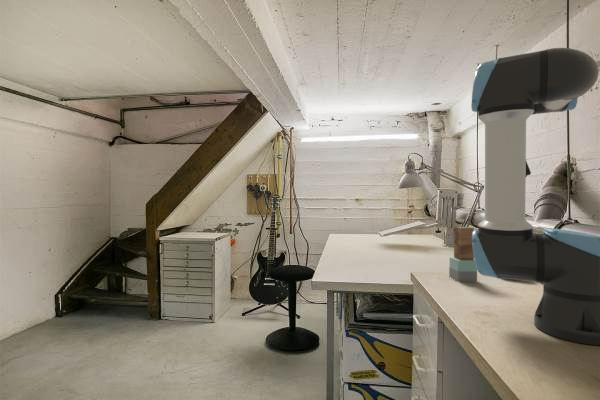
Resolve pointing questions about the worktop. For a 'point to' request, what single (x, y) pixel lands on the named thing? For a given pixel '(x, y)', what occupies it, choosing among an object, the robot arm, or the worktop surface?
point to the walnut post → (463, 243)
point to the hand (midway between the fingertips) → (506, 196)
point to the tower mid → (462, 264)
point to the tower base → (463, 275)
